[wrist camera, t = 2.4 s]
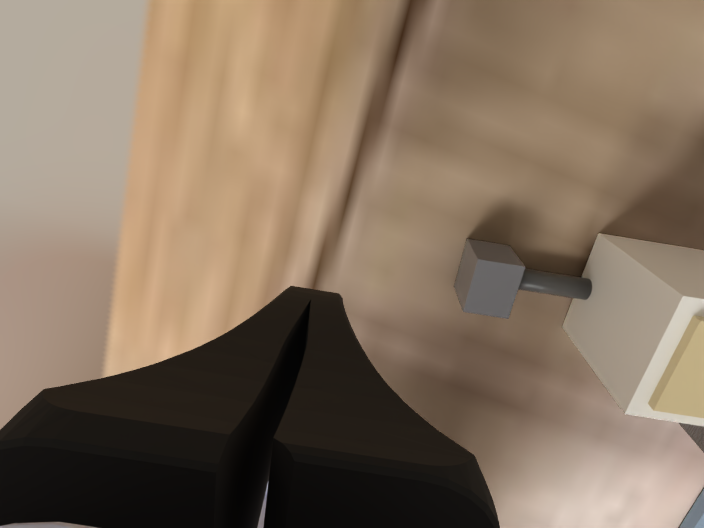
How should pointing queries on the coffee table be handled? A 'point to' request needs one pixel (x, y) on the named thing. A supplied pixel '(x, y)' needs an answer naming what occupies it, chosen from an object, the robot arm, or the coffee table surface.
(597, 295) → the wall lamp
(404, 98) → the coffee table surface
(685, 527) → the mat
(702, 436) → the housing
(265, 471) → the robot arm
